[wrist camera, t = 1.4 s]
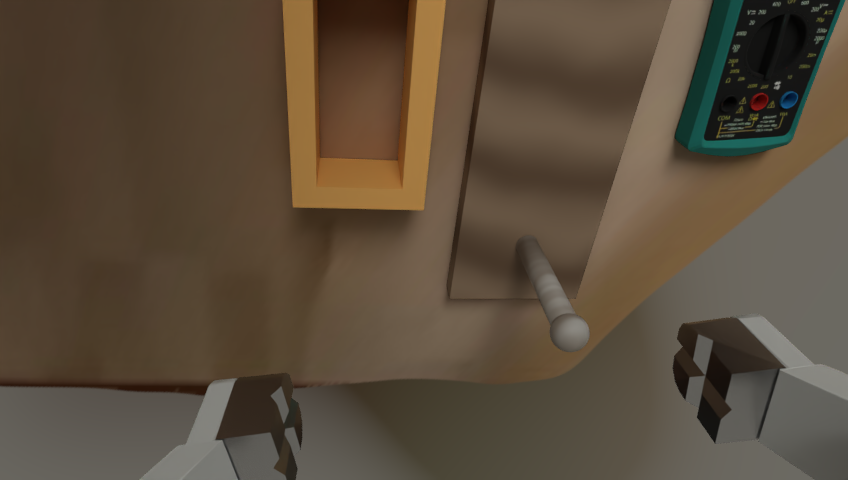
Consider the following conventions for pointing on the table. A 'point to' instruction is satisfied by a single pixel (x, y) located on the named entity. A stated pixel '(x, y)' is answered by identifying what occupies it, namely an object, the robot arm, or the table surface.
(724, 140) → the digital multimeter
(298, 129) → the orange rectangular frame
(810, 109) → the table surface
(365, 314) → the table surface
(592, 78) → the keeper board
